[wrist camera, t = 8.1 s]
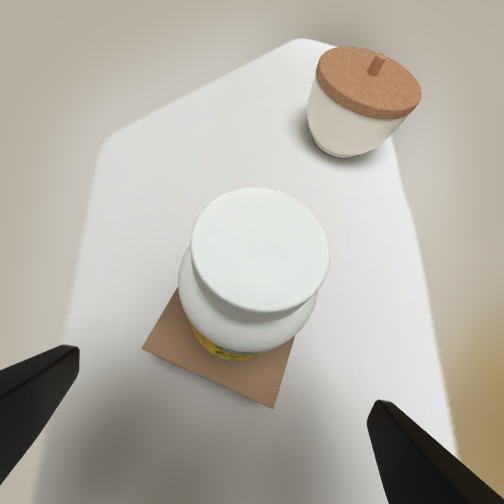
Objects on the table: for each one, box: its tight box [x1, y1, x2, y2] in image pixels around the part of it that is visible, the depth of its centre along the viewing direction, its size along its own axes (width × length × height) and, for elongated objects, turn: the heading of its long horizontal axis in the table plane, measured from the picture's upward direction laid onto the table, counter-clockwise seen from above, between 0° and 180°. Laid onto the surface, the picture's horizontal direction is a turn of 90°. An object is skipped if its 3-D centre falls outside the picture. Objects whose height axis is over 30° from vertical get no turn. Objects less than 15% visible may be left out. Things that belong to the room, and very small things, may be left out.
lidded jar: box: [307, 47, 421, 158], centre depth 27 cm, size 11×11×9 cm
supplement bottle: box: [178, 187, 330, 361], centre depth 11 cm, size 5×5×10 cm
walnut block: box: [142, 287, 295, 409], centre depth 17 cm, size 8×8×4 cm
